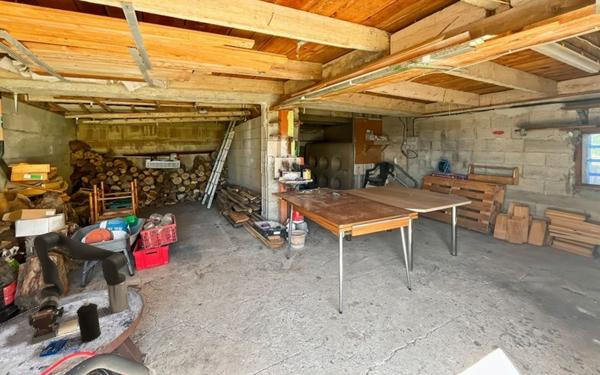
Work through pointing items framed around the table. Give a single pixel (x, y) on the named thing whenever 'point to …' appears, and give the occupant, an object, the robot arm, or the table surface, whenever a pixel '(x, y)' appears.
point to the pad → (68, 327)
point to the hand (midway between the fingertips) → (44, 324)
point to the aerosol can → (88, 322)
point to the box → (44, 322)
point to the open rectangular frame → (43, 336)
